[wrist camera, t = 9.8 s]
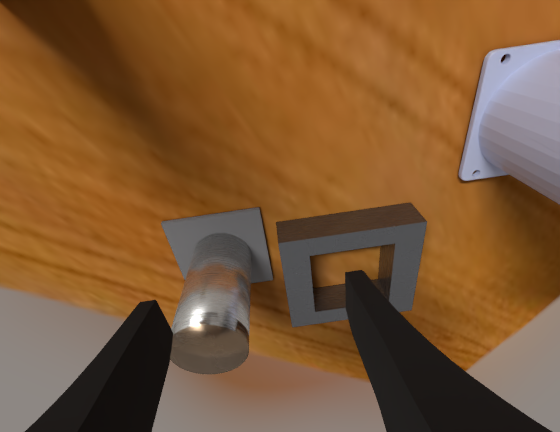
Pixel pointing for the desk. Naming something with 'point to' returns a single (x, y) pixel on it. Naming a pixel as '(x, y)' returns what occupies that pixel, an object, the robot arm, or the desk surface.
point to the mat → (236, 223)
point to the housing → (348, 236)
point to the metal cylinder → (214, 307)
